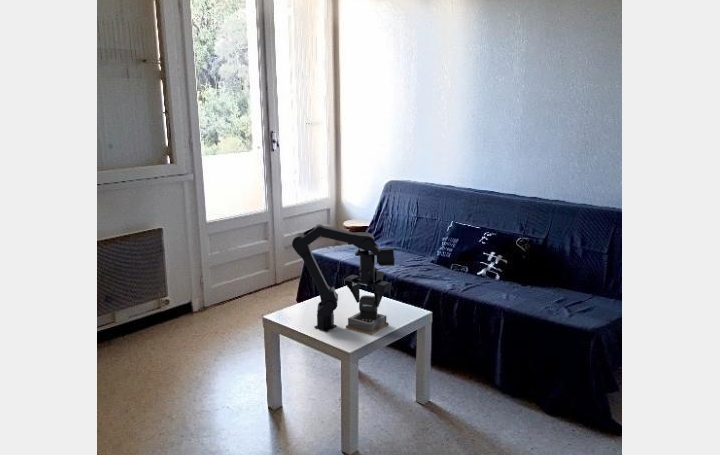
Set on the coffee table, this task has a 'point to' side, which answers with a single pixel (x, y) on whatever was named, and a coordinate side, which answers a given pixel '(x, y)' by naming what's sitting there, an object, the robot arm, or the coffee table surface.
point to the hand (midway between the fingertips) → (367, 304)
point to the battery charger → (368, 308)
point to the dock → (367, 324)
